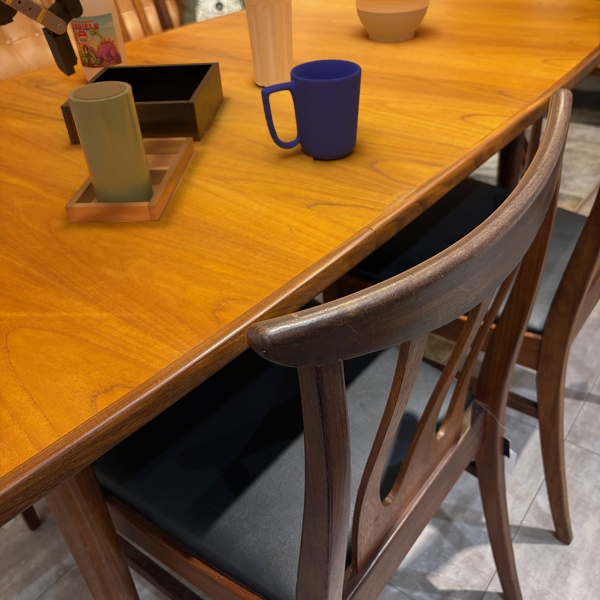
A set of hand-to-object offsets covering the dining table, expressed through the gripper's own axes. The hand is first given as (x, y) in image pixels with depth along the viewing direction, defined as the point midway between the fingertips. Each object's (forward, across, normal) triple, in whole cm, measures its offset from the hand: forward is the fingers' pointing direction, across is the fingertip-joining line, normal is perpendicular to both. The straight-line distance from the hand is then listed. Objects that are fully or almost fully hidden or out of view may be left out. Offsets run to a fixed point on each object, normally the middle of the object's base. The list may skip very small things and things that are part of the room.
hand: (23, 93), depth 52 cm
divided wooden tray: (+18, -8, -3) cm, 20 cm away
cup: (+29, -42, -20) cm, 54 cm away
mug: (+20, -28, +5) cm, 35 cm away
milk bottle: (+31, -24, -45) cm, 60 cm away
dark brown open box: (+24, -19, -20) cm, 37 cm away
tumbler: (+16, -5, 0) cm, 17 cm away
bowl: (+36, -74, -24) cm, 86 cm away
